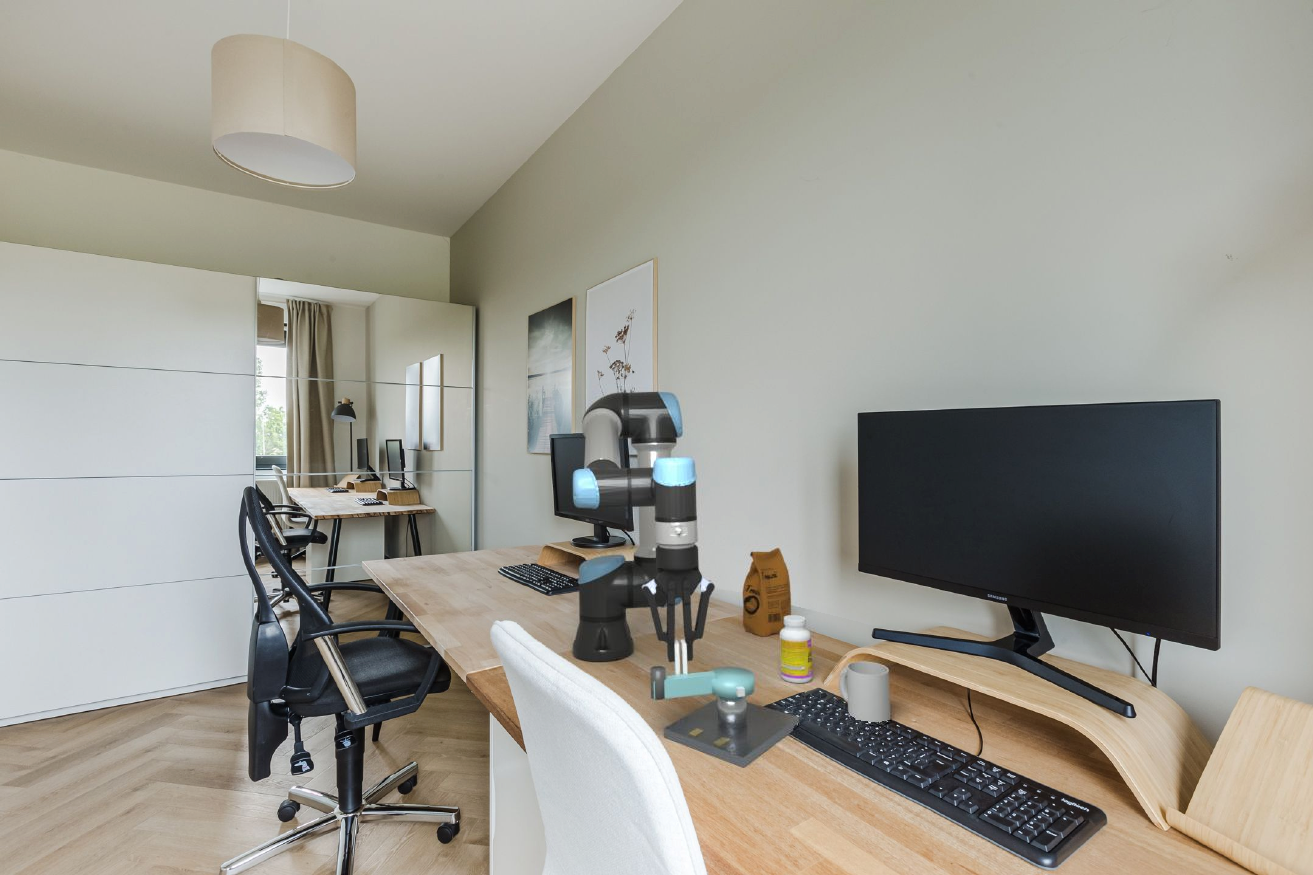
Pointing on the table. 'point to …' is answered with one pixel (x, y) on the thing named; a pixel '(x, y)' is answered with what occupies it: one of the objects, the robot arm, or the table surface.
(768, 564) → the coffee package
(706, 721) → the post base
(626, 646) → the robot arm
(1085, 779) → the table surface
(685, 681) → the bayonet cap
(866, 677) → the cup
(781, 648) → the supplement bottle
